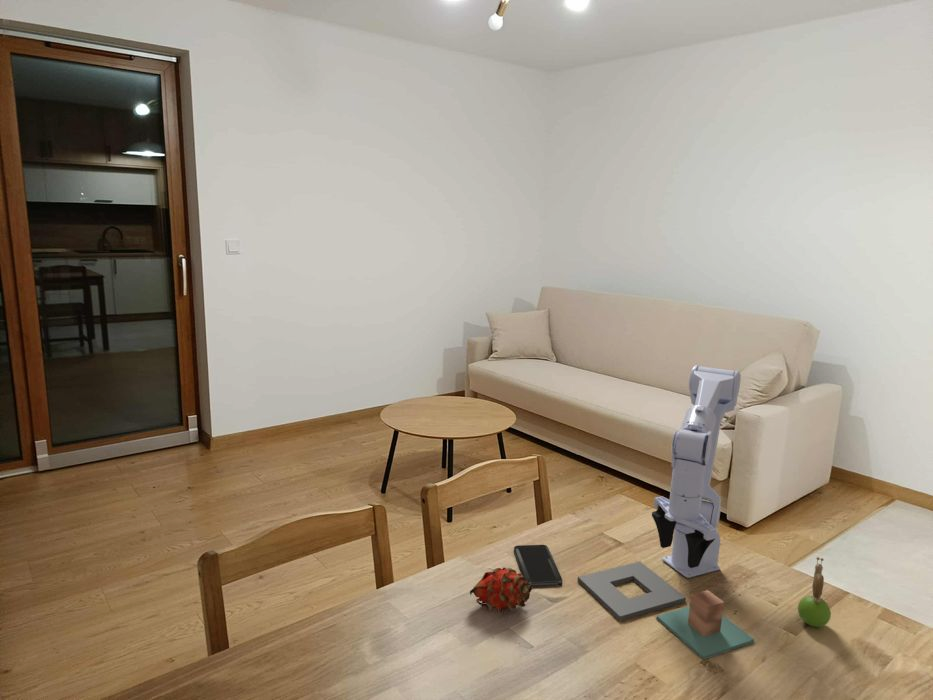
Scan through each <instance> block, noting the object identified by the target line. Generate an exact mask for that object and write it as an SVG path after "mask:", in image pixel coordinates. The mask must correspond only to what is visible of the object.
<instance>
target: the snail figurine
mask: <svg viewBox="0 0 933 700" xmlns="http://www.w3.org/2000/svg"><path fill="white" fill-rule="evenodd" d="M816 560H817V561H816V564H815V567H814V569H815V570H814V574H813V580H812V595H807V596H803V598H801V599H800V600H799V601H798V604H797V612H798V615H799V617H800V619H801V620H802V621H803V622H804V623H805V624H807V625H808V626H810V627H814V628H820V627H824V626H825V625H827V624H828V623H829V622H830V620H831V616H832V613H831V608H830V606H829V604H828V603H827V602H826V601H825V600H824V599H823V598H821V597H822V595H823V589H824V580H825V579H824V575H823V572H822V571H823V569H824V567H823V565H822V563H823V561H824V560H825V559H824V558H823V557H816ZM819 560H820V561H821V562H820V563H818V562H819Z"/></svg>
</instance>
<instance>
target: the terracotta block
mask: <svg viewBox="0 0 933 700" xmlns="http://www.w3.org/2000/svg"><path fill="white" fill-rule="evenodd" d="M689 606H690V608H689V617H688V624H689V625H690V626H691V627H693V628H694V629H695V630H696V631H697V632H699V633H700V634H701V635H702V636H703V637H704V636H707V635H710V634H713V633H717V632H720V630H721V622H722V615H723V614H724V606H725V601H723V600H722V599H721V598H719V597H718V596H717V595H715V594H714V593H712V591H710V590H708V589H706V590H703V591H699V592H696V593H693V594H692V593H691V594H690V600H689Z"/></svg>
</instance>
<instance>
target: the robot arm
mask: <svg viewBox="0 0 933 700" xmlns="http://www.w3.org/2000/svg"><path fill="white" fill-rule="evenodd" d="M741 375H742V374H741V372H740V371H739V370H737V369H736V370H731V369H724V368H715V367H709V366H701V365H699V364H695V365H694V366H692V369H691V371H690V375H689V376H690V377H689V381H688V389H689V398H690V401H691V404H692V405H693V406H690V407H689V408H687V410H686V412H685V415H684V418H683V421H682V423H681V425H680V429H679V431H678V430H675V431H674V432H673V433H674V434H673V437H672V442H671V447H670V450H671V454H670V455H671V464H670V465H671V468H672V473H671V483H670V490H669V491H670V493H669V499H668V498H666V497H664V496H663V495H662V496H657V497H654V500H653V507H654V508H655V509H656V510H655V511H651V518H653V521H654V523H655V526H656V529H657V533H658V538H659V545H660V547H661V548H662V549H665V548H670V547H671V546H672V547H671V548H672V550H671V555H668V556H663V557H662V559H661V560H662V561H664V562H665V563H666V564H667V565H668V566H670V567H671V568H673V569H674V570H676V571H677V572H678V573H680V574H681V575H682V576H683V577H685V578H687V579H689V578H693V577H697V576H700V575H704V574H709V573H711V572H715V571H719V570H721V566H720V565H718V563H719V554H720V546H721V537H720V533H719V531H718V527H719V522H720V516H721V504H722V499H721V496H720V495H719V494H718V492H717V491H715V489H714V488H713V487H712V486H711V481H712V476H713V469H714V463H715V459H716V453H717V446H718V442H719V435H720V430H721V424H722V421H723V419H724V417H725V415H726V413H728V412H729V413H730V412H733V411H734V410H735V407H736V405H737V402H738V396H739V392H740V387H741V385H740V384H741V377H742V376H741Z"/></svg>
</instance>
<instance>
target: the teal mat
mask: <svg viewBox="0 0 933 700" xmlns="http://www.w3.org/2000/svg"><path fill="white" fill-rule="evenodd" d="M689 608H690V605H688V606H684V607H682V608H678V609H675V610H671V611H669V612H665V613H662V614H661V613H660V614H657V615H656V620H657V621H659V622H660V623H661V624H662V625H663V626H664V627H665V628H666V629H668V630H669V632H671V633H672V634H673V635H675V636H676V637H677V638H678V639H679V640H680V641H681V642H683V643H684V644H685V645H686V646H687V647H688V648H690V649H691V650H692V651H693V652H694V653H695V654H696V655H697V656H699V657H700V658H701V659H702V660H706V659H709V658H712V657H715V656H718V655H720V654H723V653H727V652H729V651H733V650H734V649H735V650H736V649H739V648H741V647H744V646H747V645H750V644H752V643H755V638H753V636H751V635H750V634H748V633H747V632H746V631H744V630H743V629H742V628H740V627H739V626H738V625H737V624H736V623H734V622H733V621H731V620H730V619H729V618H728V617H726V616H725V615H723V614H722V622H721V630H720V632H717V633H713V634H710V635H707V636H704V637H703V636H702V635H701V634H700V633H699V632H697V631H696V630H695V629H694V628H693V627H691V626H690V625H689V624H688V617H689Z"/></svg>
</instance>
